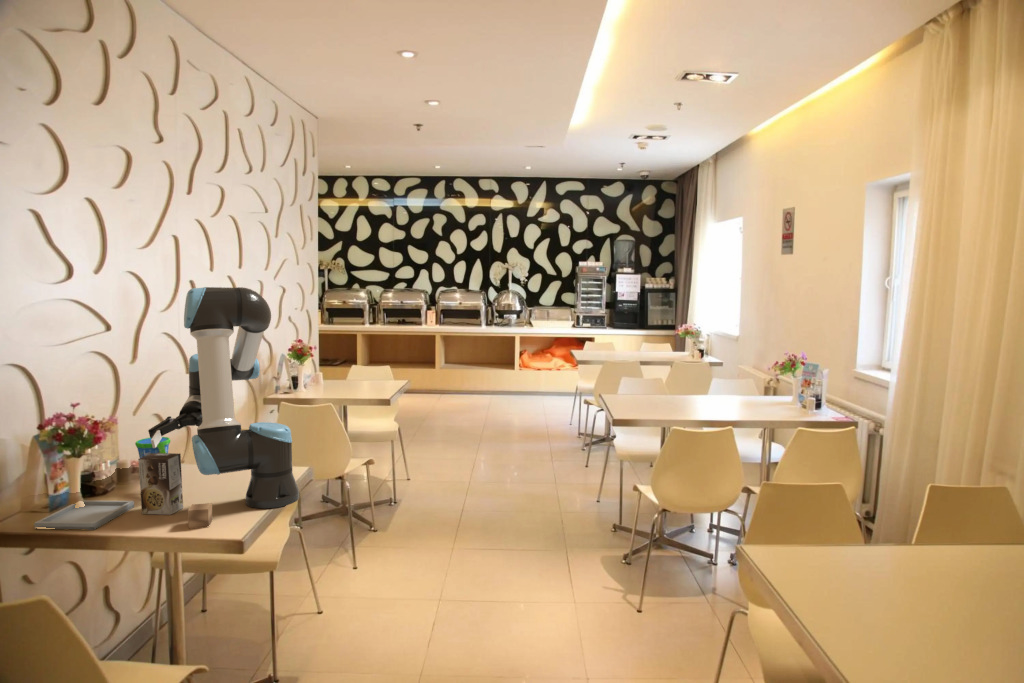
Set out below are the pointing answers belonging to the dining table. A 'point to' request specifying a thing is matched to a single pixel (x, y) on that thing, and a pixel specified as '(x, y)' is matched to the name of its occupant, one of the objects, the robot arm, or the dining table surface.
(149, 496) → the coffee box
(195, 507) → the walnut block
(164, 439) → the snack cup
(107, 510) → the tray
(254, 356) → the robot arm
